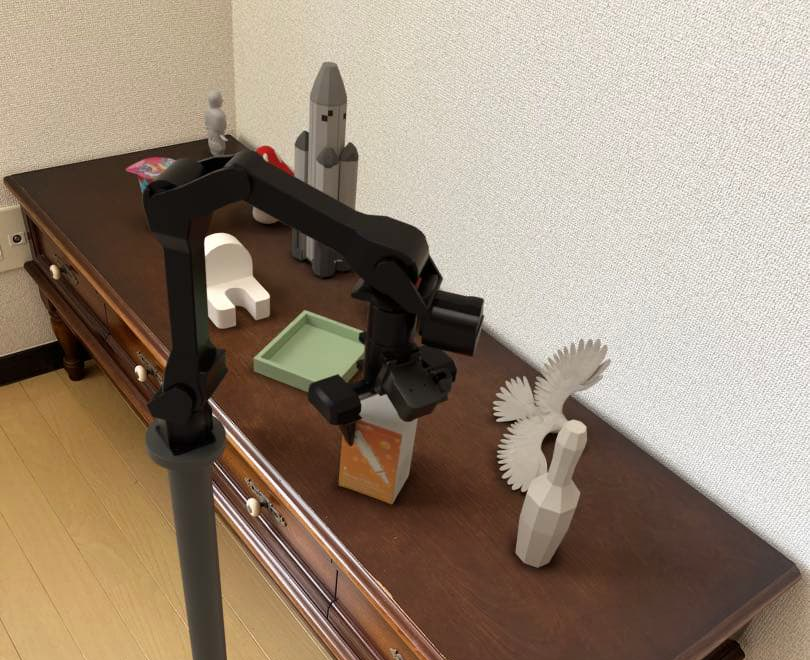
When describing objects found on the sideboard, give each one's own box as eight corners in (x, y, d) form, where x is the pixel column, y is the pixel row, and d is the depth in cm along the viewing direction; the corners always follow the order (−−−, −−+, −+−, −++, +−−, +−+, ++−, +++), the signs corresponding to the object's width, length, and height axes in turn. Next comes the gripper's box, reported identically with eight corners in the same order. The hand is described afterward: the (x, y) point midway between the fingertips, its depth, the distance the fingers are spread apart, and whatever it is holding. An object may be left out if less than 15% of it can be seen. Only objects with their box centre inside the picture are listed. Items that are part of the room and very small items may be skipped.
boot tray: (331, 401, 124) (331, 388, 122) (253, 371, 127) (253, 358, 125) (376, 349, 134) (378, 336, 133) (304, 322, 138) (304, 309, 136)
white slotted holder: (219, 330, 134) (215, 272, 126) (175, 275, 144) (170, 218, 136) (272, 315, 138) (272, 259, 131) (226, 264, 148) (223, 208, 141)
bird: (472, 481, 127) (525, 510, 114) (433, 395, 120) (484, 415, 107) (575, 413, 132) (637, 433, 119) (542, 326, 125) (604, 337, 112)
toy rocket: (359, 270, 151) (373, 73, 127) (320, 283, 147) (328, 81, 123) (323, 242, 157) (331, 48, 133) (285, 254, 153) (286, 55, 128)
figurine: (238, 168, 176) (236, 96, 165) (222, 172, 174) (219, 100, 163) (214, 151, 180) (210, 80, 170) (198, 155, 178) (193, 84, 168)
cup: (171, 213, 159) (165, 152, 151) (197, 231, 155) (192, 170, 147) (128, 226, 154) (120, 165, 146) (154, 245, 150) (147, 183, 142)
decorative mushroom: (245, 244, 154) (243, 167, 143) (218, 210, 162) (214, 135, 152) (313, 231, 160) (316, 156, 149) (284, 199, 168) (284, 126, 157)
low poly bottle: (500, 553, 106) (537, 426, 90) (526, 526, 109) (566, 400, 94) (541, 580, 103) (586, 454, 88) (566, 552, 107) (614, 427, 92)
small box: (337, 486, 111) (342, 413, 102) (356, 458, 116) (363, 385, 107) (392, 506, 109) (402, 434, 101) (409, 476, 114) (421, 405, 105)
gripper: (360, 396, 87) (351, 497, 97) (494, 348, 95) (473, 446, 106) (307, 340, 93) (304, 442, 103) (438, 300, 102) (423, 397, 112)
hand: (379, 432), depth 106 cm, fingers closed on small box, 9 cm apart
